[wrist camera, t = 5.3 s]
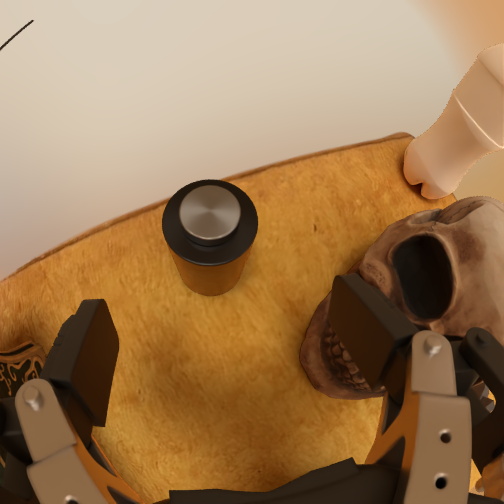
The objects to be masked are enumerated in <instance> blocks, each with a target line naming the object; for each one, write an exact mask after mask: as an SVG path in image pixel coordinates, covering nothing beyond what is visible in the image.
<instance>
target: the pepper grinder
mask: <svg viewBox="0 0 504 504" xmlns="http://www.w3.org/2000/svg"><path fill="white" fill-rule="evenodd" d="M162 229H163V234H164V237H165V240H166V242H167V245H168V247H169V250H170V252H171V254H172V257H173V259H174V262H175V264H176V266H177V269H178V271H179V273H180V275H181V278H182V280H183V281H184V283H185V284H186V285H187V286H188V287H189V288H190V289H191V290H193V291H194V292H196V293H198V294H201V295H206V296H216V295H220V294H223V293H226V292H227V291H229V290H230V289H232V288H233V287H234V286H235V285H236V283H237V282H238V281H239V279H240V276H241V274H242V271H243V269H244V266H245V263H246V261H247V258H248V255H249V253H250V250H251V247H252V245H253V242H254V239H255V237H256V234H257V229H258V216H257V212H256V209H255V206H254V204H253V202H252V201H251V199H250V198H249V197H248V196H247V194H246V193H245V192H243V191H242V190H241V189H240V188H238V187H237V186H235V185H233V184H231V183H228V182H225V181H221V180H209V179H208V180H200V181H196V182H193V183H190V184H188V185H186V186H184V187H183V188H181V189H180V190H179V191H177V192H176V193H175V194H174V195H173V196H172V198H171V199H170V200H169V202H168V203H167V205H166V207H165V210H164V213H163V218H162Z"/></svg>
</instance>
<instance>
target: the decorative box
mask: <svg viewBox="0 0 504 504" xmlns="http://www.w3.org/2000/svg"><path fill="white" fill-rule="evenodd" d="M45 361H46V357H45V354H44V351H43V349H42V347H41V346H40V345H39V344H37V343H35V342H34V341H31V340H29V341H27V342H25V343H23V344H21V345H19V346H17V347H15V348H13V349H11V350H7V351H0V399H3V398H9V397H16V394H17V392H18V390H19V389H20V387H21V386H22V385H23V384H24V383H26V382H27V381H29V380H32V379H38V378H39V376H40V374H41V371H42V369H43V366H44V364H45ZM6 455H7V451H6V450H5V449H3V448H2V447H1V446H0V486H2V484H3V477H4V469H5V462H6Z"/></svg>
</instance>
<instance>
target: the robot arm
mask: <svg viewBox="0 0 504 504" xmlns="http://www.w3.org/2000/svg"><path fill="white" fill-rule="evenodd" d="M32 22H33V20H31V21H30V22H29V23H28V24H26V25H25V26H24V27H23V28H21V29H20V30H19V31H18V32H17V33H16V34H15V35H13V36H12V37H11V38H10V39H9V40H8V41H7V42H5V44H3V45H2V46H1V47H0V50H1V49H2V48H3V47H4V46H6V44H8V43H9V42H10V41H11V40H12V39H13V38H14V37H15V36H16V35H18V34H19V33H20V32H21V31H22V30H23V29H25V28H26V27H27V26H28V25H30V24H31V23H32ZM328 318H329V323H330V325H331V327H332V329H333V330H334V332H335V333H336V335H337V336H338V338H339V340H340V341H341V343H342V344H343V346H344V347H345V349H346V350H347V352H348V354H349V355H350V357H351V358H352V360H353V361H354V363H355V365H356V366H357V368H358V369H359V371H360V372H361V374H362V376H363V377H364V379H365V380H366V382H367V384H368V385H369V387H370V388H371V390H375V389H378V388H380V387H383V386H384V387H385V388H386V392H385V394H384V398H383V404H382V409H381V415H380V420H379V425H378V430H377V434H376V438H375V441H374V444H373V446H372V448H371V450H370V452H369V454H368V456H367V459H366V461H365V464H359V465H356V463H355V461H354V459H353V457H351V458H349V459H346V460H343V461H341V462H338V463H335V464H332V465H329V466H326V467H323V468H319V469H316V470H313V471H310V472H309V473H307V474H305V475H303V476H301V477H299V478H297V479H295V480H293V481H291V482H289V483H287V484H285V485H283V486H281V487H279V488H276V489H274V490H272V491H269V492H245V491H232V490H222V489H204V490H169V497H170V498H169V499H165V500H162V501H159V502H155V503H153V504H504V347H503V346H502V345H501V344H500V343H499V342H498V341H497V339H496V338H495V337H494V336H493V335H492V334H491V333H490V332H488V331H487V330H485V329H483V328H480V327H472V328H470V329H469V330H468V331H467V333H466V335H465V337H464V338H463V340H461V341H451V342H449V341H448V340H447V339H446V338H445V337H444V336H442V335H441V334H439V333H437V332H434V331H429V330H424V331H420V330H419V329H418V328H417V327H416V326H415V325H414V324H413V323H412V322H411V321H410V320H409V319H408V318H407V317H406V316H405V315H404V314H403V313H402V312H401V310H400V309H399V308H396V305H395V304H394V303H393V302H392V301H389V298H388V297H387V296H386V295H385V294H384V293H383V292H382V291H381V290H379V289H377V288H375V287H373V286H371V285H370V284H367V283H366V282H365V281H364V280H363V279H362V278H361V277H360V276H359V275H358V274H356V273H352V274H345V275H338V276H336V277H335V278H334V281H333V287H332V293H331V298H330V304H329V309H328ZM53 344H54V346H52V348H51V350H50V352H49V354H48V357H47V359H46V361H45V364H44V366H43V369H42V371H41V374H40V376H39V378H38V379H32V380H29V381H27V382H26V383H24V384H23V385H22V386H21V387H20V389H19V390H18V392H17V394H16V397H9V398H3V399H0V446H1V447H2V448H3V449H5V450H6V451H7V455H6V462H5V469H4V477H3V484H2V486H0V504H146V503H145V502H144V501H143V500H142V499H141V497H140V496H139V495H138V494H137V493H136V492H135V491H134V490H133V489H132V488H131V487H129V486H128V485H127V484H126V482H125V481H124V480H123V479H122V478H121V476H120V475H119V474H118V472H117V471H116V470H115V468H114V467H113V465H112V464H111V463H110V461H109V460H108V458H107V457H106V455H105V454H104V452H103V451H102V449H101V448H100V446H99V445H98V443H97V441H96V440H95V438H94V437H93V435H92V427H93V426H99V427H105V423H106V416H107V409H108V403H109V397H110V391H111V386H112V381H113V376H114V371H115V366H116V361H117V357H118V352H119V338H118V334H117V331H116V328H115V326H114V323H113V320H112V318H111V315H110V312H109V309H108V306H107V303H106V301H105V300H104V299H89V300H83V301H82V302H81V304H80V306H79V308H78V310H77V312H76V314H75V315H71V316H70V317H69V318H68V319H67V320H66V321H65V322H64V323H63V324H62V327H61V329H60V331H59V333H58V337H56V339H55V341H54V343H53ZM478 377H480V378H481V379H482V381H483V382H484V383H485V384H486V386H487V387H488V388H489V390H490V391H491V392H492V394H493V395H494V397H495V400H496V404H495V408H494V409H493V411H492V412H491V413H490V412H489V411H488V410H487V409H486V407H485V406H484V404H483V403H482V402H481V400H480V399H479V397H478V396H477V395H476V393H475V392H474V391H473V389H472V388H471V387H472V386H473V384H474V383H475V382H476V380H477V379H478ZM471 458H472V459H473V461H474V463H475V465H476V467H477V469H478V470H479V472H480V474H481V476H482V477H481V478H480V479H479V480H478V481H477V482H476V485H475V488H476V491H478V492H483V491H484V496H482V495H477V494H473V493H469V484H470V473H471Z"/></svg>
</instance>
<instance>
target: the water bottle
mask: <svg viewBox="0 0 504 504" xmlns="http://www.w3.org/2000/svg"><path fill="white" fill-rule="evenodd" d="M503 148H504V43H501V44H497V45H494V46H491V47H488V48H486V49H485V50H483V51H482V52H481V53H480V54H479V55H478V56H477V60H476V61H475V63H474V64H473V66H472V67H471V68H470V69H469V71H468V72H467V74H466V75H465V76H464V78H463V79H462V80H461V82H460V83H459V84H458V86H457V87H456V88H455V89H453V92H452V95H451V97H450V100H449V102H448V104H447V106H446V108H445V109H444V111H443V113H442V115H441V116H440V117H439V118H438V120H437V121H436V122H435V123H434V124H433V125H432V126H431V127H430V128H429V129H428V130H427V131H426V132H425V133H423V134H422V135H420V136H419V137H417V138H415V139H413V140H412V141H411V142H410V144H409V145H408V147H407V149H406V151H405V155H404V169H403V170H404V176H405V178H406V180H407V181H408V183H410V185H415V184H418V183H423V185H422V189H421V195H422V196H423V197H425V198H427V199H439V198H443V197H445V196H447V195H449V194H451V193H452V192H454V191H455V190H456V188H457V187H458V185H459V183H460V181H461V180H462V178H463V177H464V175H465V174H466V173H467V171H468V170H469V169H470V168H471V167H472V165H474V164H475V163H476V162H477V161H478V160H479V159H481V158H482V157H483V156H485V155H487V154H490V153H492V152H496V151H500V150H502V149H503Z"/></svg>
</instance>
